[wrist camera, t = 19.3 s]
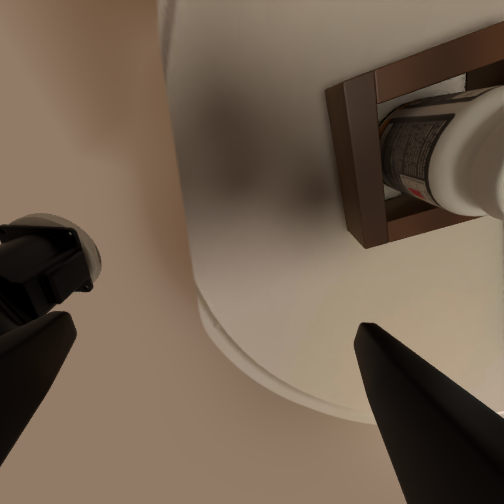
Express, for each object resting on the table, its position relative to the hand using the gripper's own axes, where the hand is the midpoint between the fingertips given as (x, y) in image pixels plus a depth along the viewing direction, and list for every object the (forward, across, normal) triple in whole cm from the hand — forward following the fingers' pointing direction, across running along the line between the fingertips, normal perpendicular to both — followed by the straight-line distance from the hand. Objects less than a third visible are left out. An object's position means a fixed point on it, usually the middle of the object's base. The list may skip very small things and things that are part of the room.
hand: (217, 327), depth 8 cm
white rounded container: (+13, -12, -5) cm, 18 cm away
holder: (+13, -12, -5) cm, 18 cm away
